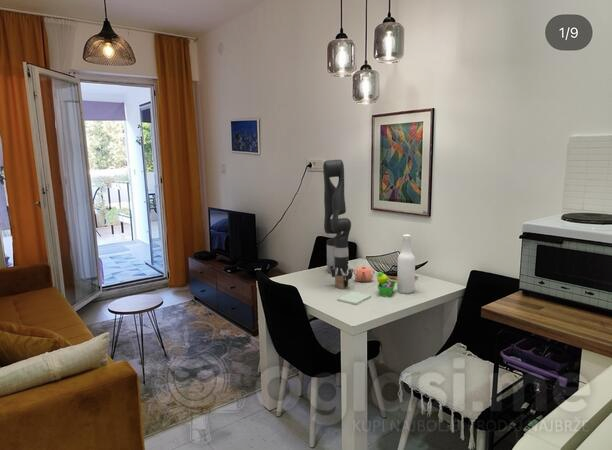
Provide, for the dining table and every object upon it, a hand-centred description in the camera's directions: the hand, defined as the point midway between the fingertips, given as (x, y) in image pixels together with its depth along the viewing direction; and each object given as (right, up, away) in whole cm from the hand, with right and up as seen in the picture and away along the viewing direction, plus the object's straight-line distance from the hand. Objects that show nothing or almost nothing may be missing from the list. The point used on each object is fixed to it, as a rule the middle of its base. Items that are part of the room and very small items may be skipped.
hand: (341, 285), depth 223 cm
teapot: (+14, +1, +12) cm, 18 cm away
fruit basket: (+22, -3, -11) cm, 25 cm away
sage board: (+5, -4, -19) cm, 20 cm away
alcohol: (+33, -2, -9) cm, 34 cm away
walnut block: (0, -1, 0) cm, 1 cm away
